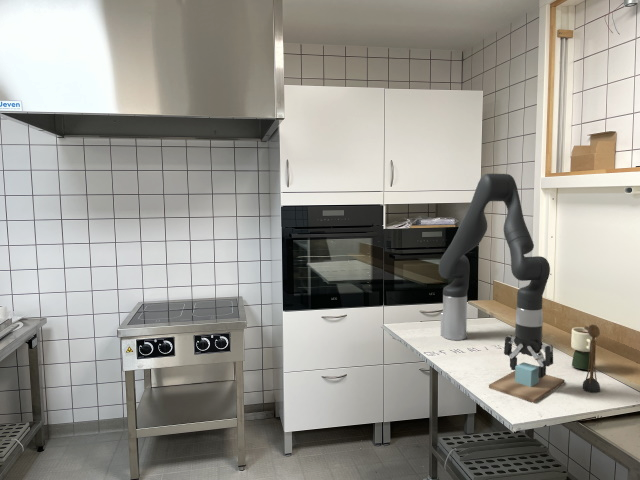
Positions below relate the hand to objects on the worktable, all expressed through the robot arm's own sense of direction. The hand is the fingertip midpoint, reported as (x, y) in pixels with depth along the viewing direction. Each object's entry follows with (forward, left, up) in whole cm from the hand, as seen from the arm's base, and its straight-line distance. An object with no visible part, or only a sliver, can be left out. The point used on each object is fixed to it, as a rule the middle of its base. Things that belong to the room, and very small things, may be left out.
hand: (527, 373), depth 150 cm
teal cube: (0, 0, -3) cm, 3 cm away
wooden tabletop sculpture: (+14, +11, -4) cm, 18 cm away
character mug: (+6, +26, -4) cm, 27 cm away
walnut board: (0, 0, -4) cm, 4 cm away
